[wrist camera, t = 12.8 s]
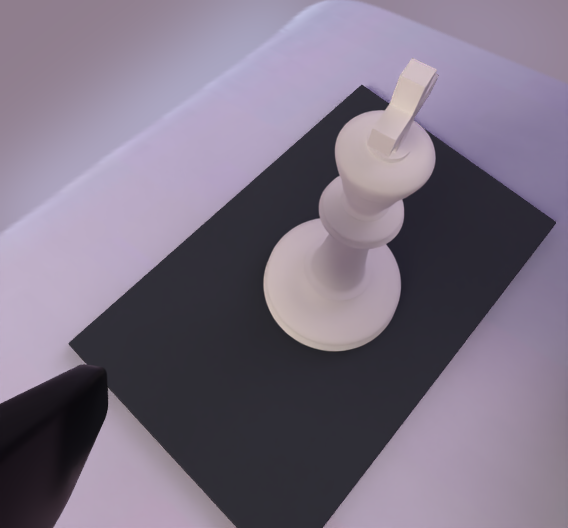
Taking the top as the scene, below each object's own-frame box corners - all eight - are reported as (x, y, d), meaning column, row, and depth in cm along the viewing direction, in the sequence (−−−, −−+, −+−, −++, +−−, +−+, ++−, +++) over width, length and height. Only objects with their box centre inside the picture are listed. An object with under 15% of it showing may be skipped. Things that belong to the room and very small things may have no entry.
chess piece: (236, 303, 16) (197, 104, 7) (308, 202, 17) (356, -69, 8) (357, 379, 15) (507, 275, 6) (420, 266, 17) (615, 42, 7)
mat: (283, 574, 13) (283, 579, 13) (72, 346, 16) (67, 343, 15) (549, 227, 18) (557, 222, 18) (359, 92, 20) (361, 83, 20)
